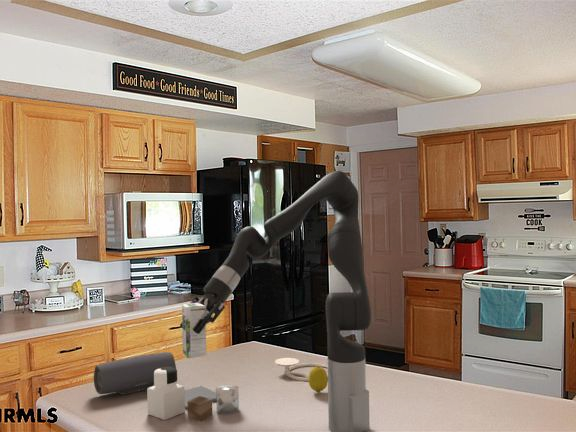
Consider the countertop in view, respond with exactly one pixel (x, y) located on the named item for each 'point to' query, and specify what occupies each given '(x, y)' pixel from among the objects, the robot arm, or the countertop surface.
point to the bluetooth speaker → (130, 373)
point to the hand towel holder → (295, 366)
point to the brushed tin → (227, 399)
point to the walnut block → (199, 408)
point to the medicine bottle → (165, 394)
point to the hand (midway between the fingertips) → (188, 329)
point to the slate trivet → (199, 394)
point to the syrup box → (192, 341)
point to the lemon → (318, 379)
